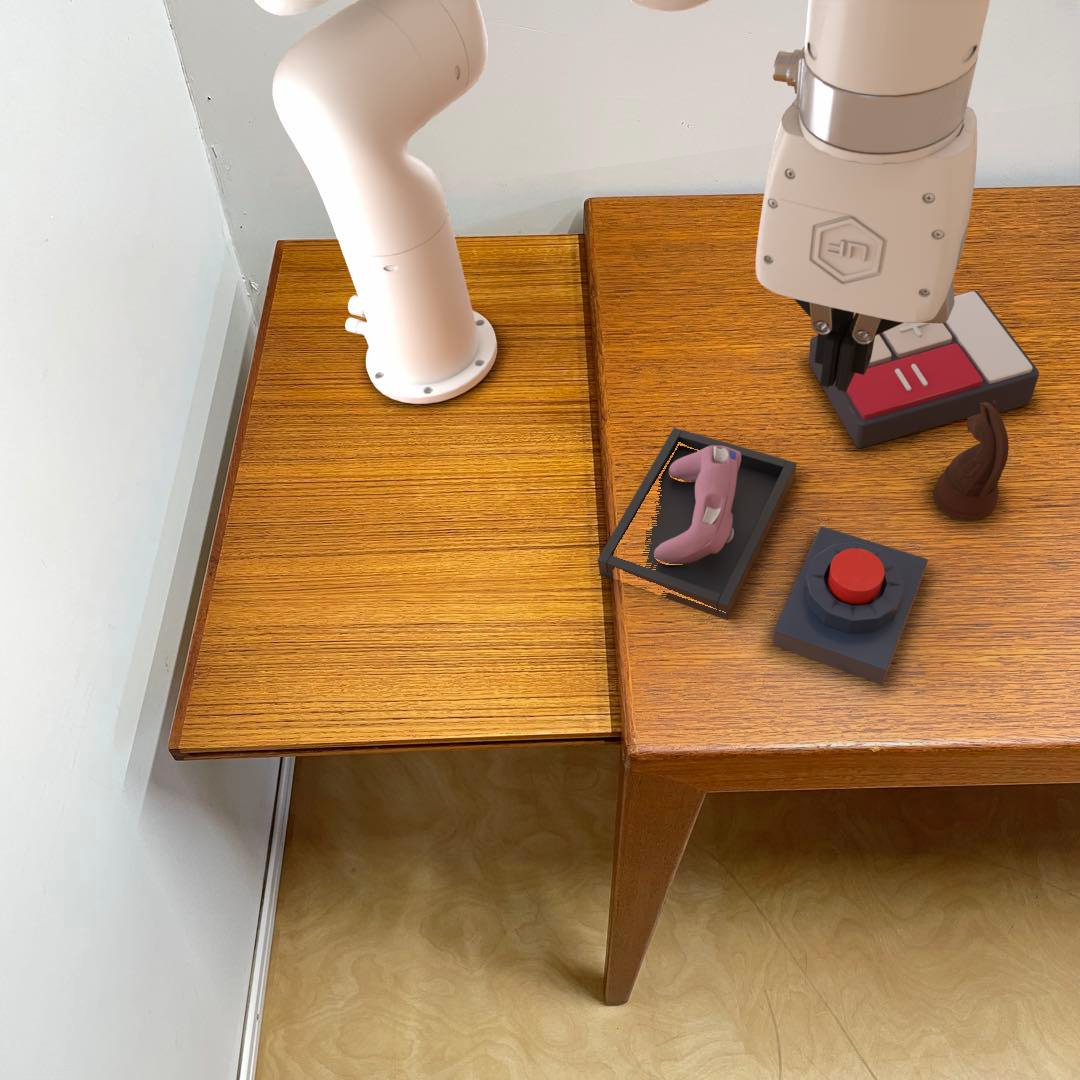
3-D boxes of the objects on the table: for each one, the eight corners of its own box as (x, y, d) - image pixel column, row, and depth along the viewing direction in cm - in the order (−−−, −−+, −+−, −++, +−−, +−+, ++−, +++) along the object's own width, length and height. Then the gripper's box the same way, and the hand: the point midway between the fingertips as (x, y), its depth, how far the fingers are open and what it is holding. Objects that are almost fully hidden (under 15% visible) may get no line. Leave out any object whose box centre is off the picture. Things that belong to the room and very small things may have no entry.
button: (820, 594, 70) (823, 580, 68) (837, 555, 71) (840, 541, 70) (872, 611, 68) (875, 598, 67) (887, 571, 70) (891, 557, 69)
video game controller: (701, 585, 77) (745, 541, 71) (647, 564, 76) (687, 519, 70) (715, 486, 82) (756, 438, 76) (665, 466, 82) (703, 417, 76)
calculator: (808, 330, 85) (977, 281, 85) (806, 366, 88) (969, 319, 88) (860, 420, 78) (1044, 366, 78) (856, 455, 82) (1032, 404, 81)
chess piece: (979, 470, 78) (1010, 380, 70) (1009, 519, 75) (1045, 431, 67) (923, 483, 78) (947, 394, 70) (950, 532, 75) (980, 446, 67)
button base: (771, 645, 72) (775, 616, 69) (817, 542, 77) (822, 510, 73) (882, 685, 69) (891, 657, 66) (923, 575, 74) (933, 544, 70)
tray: (599, 574, 77) (597, 559, 76) (674, 443, 84) (673, 427, 83) (727, 620, 74) (727, 605, 72) (794, 479, 80) (796, 462, 79)
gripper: (702, 110, 47) (703, 384, 62) (1035, 162, 42) (949, 450, 56) (759, 30, 51) (747, 307, 65) (1073, 69, 45) (982, 362, 60)
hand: (840, 373), depth 61 cm, fingers closed
